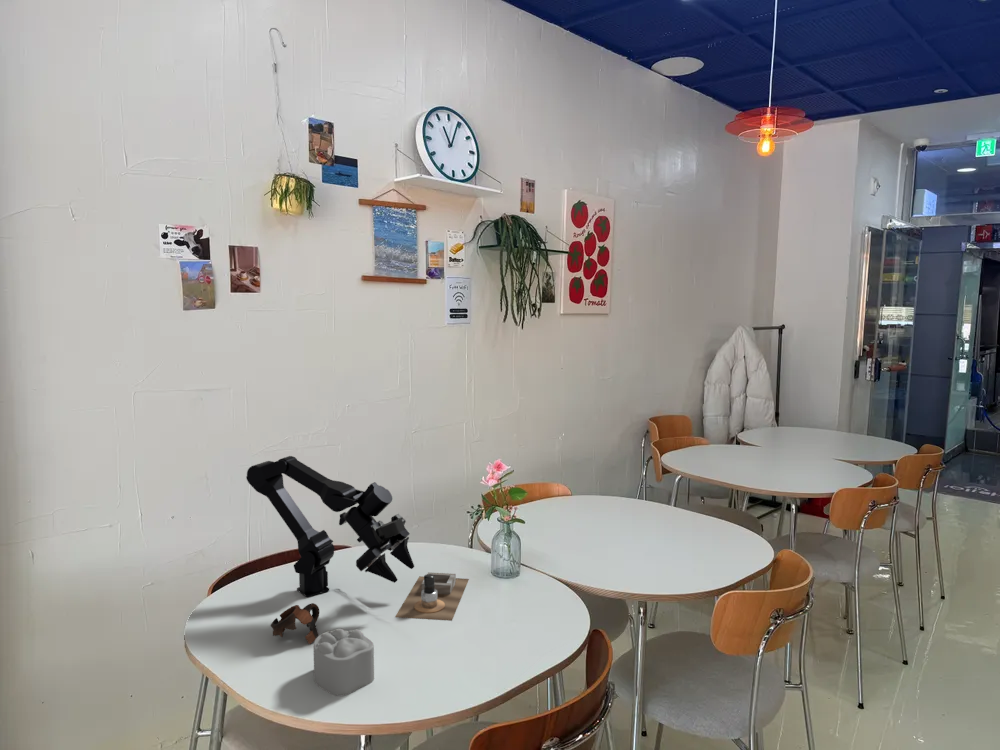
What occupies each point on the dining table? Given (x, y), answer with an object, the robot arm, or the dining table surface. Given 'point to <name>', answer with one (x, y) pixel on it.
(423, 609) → the brown wooden board
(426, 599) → the nail polish bottle
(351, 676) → the grey paw block
